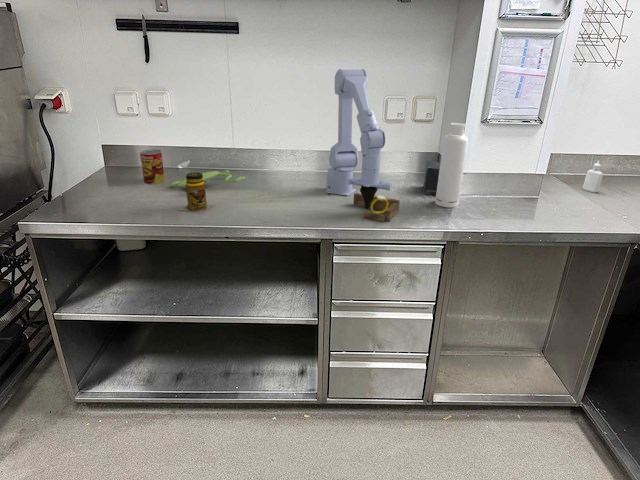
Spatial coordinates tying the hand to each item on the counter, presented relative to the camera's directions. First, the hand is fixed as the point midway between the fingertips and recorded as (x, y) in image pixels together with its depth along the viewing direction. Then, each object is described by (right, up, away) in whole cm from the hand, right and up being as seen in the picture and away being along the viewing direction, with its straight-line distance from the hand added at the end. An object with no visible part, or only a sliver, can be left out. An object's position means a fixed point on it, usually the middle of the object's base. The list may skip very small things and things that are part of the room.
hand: (367, 207), depth 147 cm
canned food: (-82, +12, +28) cm, 87 cm away
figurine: (-59, +9, +23) cm, 64 cm away
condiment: (-58, 0, +2) cm, 58 cm away
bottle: (+29, +2, +10) cm, 31 cm away
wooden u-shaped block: (+1, -2, +1) cm, 2 cm away
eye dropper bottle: (+91, +9, +27) cm, 96 cm away
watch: (+4, -2, 0) cm, 4 cm away
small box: (+27, +8, +23) cm, 37 cm away
